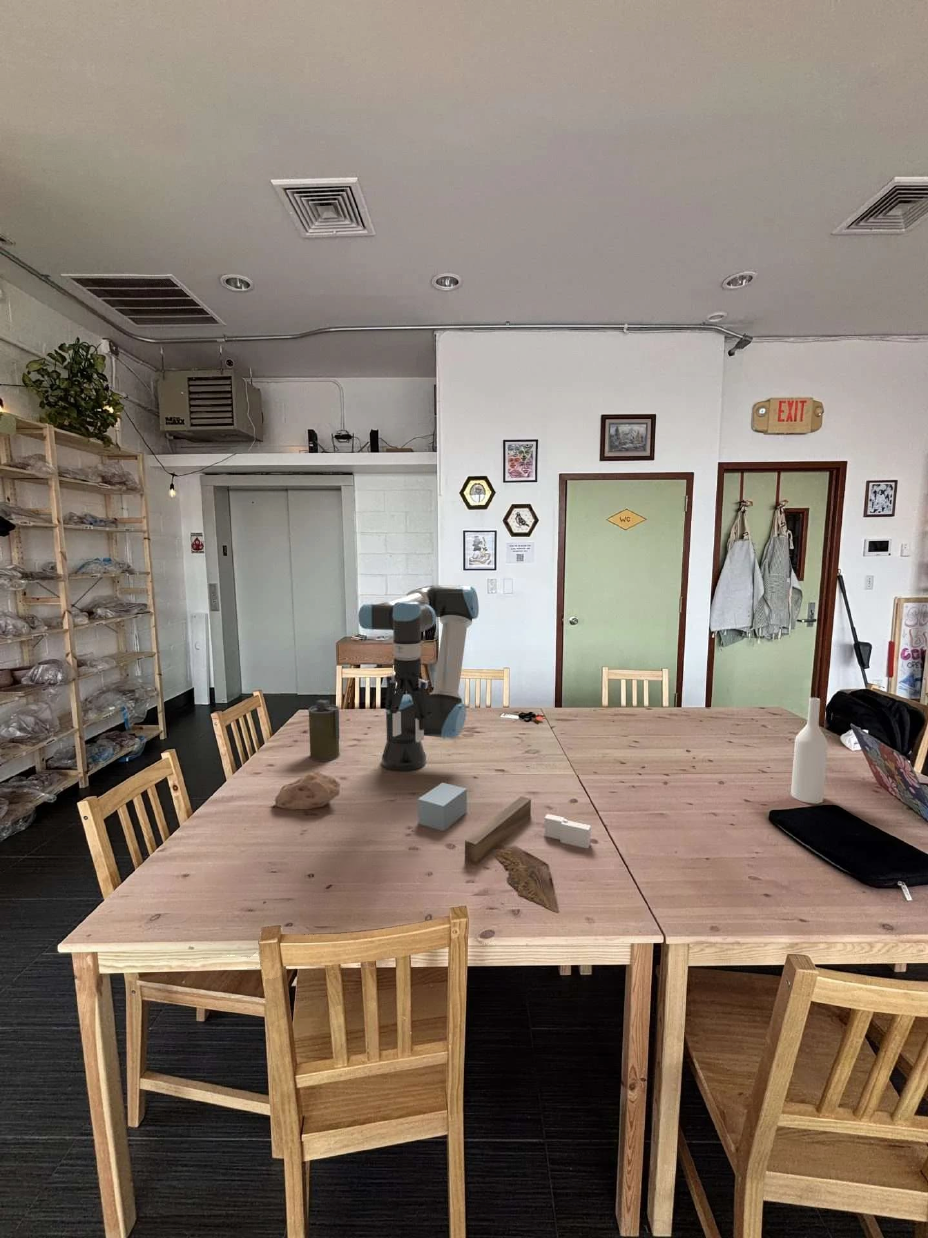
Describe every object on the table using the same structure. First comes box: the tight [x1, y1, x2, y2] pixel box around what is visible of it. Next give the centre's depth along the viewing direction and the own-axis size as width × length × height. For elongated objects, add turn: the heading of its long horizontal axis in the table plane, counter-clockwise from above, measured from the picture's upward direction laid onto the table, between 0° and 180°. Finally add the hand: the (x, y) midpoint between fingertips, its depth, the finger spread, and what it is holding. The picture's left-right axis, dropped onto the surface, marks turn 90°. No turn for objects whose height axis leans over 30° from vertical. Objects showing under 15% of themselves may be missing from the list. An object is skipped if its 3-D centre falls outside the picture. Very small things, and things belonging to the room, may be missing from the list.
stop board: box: [464, 795, 532, 865], centre depth 137 cm, size 3×28×5 cm, turn 146°
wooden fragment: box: [494, 844, 560, 913], centre depth 121 cm, size 26×11×1 cm, turn 13°
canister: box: [307, 699, 341, 762], centre depth 191 cm, size 11×10×20 cm
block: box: [417, 782, 468, 832], centre depth 147 cm, size 8×12×7 cm, turn 150°
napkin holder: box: [543, 813, 592, 849], centre depth 136 cm, size 15×11×6 cm
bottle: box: [790, 697, 829, 805], centre depth 158 cm, size 8×8×30 cm
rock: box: [274, 770, 341, 810], centre depth 154 cm, size 18×10×10 cm, turn 98°
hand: (408, 737), depth 152 cm, fingers open, 8 cm apart
